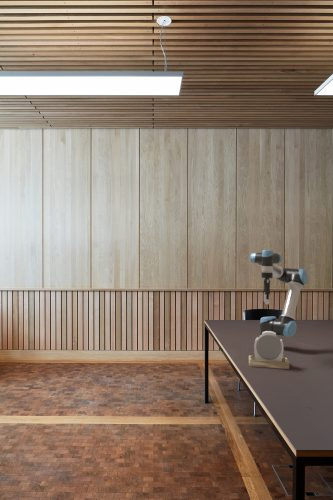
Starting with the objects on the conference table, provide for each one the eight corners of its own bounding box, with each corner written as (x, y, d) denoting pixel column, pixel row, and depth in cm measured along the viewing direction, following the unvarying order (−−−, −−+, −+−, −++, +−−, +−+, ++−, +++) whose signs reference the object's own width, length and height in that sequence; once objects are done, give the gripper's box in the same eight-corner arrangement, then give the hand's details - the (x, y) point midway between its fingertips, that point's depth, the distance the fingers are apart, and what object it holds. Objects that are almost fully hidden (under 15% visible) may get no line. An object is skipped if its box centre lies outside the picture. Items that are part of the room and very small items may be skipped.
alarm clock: (283, 363, 273) (283, 331, 274) (283, 366, 265) (283, 333, 265) (254, 360, 278) (255, 329, 278) (253, 363, 270) (254, 331, 270)
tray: (248, 361, 280) (248, 355, 280) (286, 363, 276) (286, 357, 276) (249, 366, 267) (249, 360, 267) (289, 368, 263) (289, 362, 263)
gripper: (260, 271, 309) (259, 300, 308) (262, 272, 284) (262, 304, 284) (270, 271, 308) (270, 301, 307) (274, 273, 283) (273, 305, 283)
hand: (266, 303), depth 296 cm, fingers open, 13 cm apart
